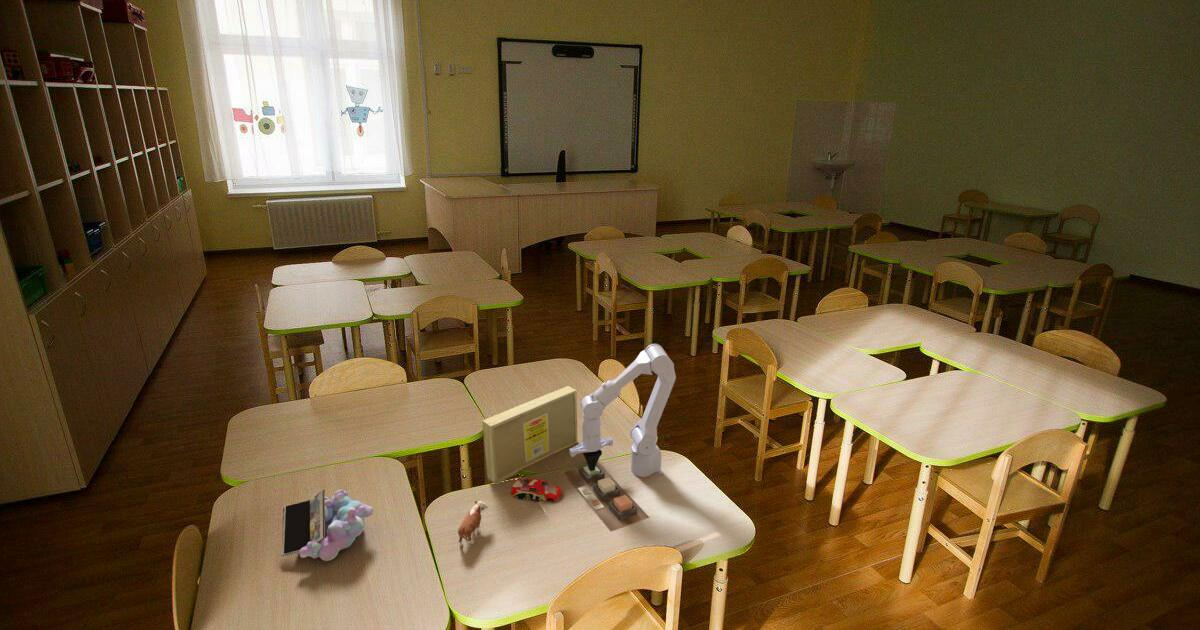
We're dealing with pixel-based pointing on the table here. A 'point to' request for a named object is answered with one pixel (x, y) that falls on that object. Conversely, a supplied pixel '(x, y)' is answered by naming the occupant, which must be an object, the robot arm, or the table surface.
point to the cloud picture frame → (322, 525)
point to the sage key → (590, 473)
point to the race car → (536, 490)
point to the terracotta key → (622, 503)
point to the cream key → (606, 485)
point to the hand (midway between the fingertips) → (591, 469)
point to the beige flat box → (529, 433)
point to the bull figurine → (471, 522)
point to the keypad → (604, 498)
